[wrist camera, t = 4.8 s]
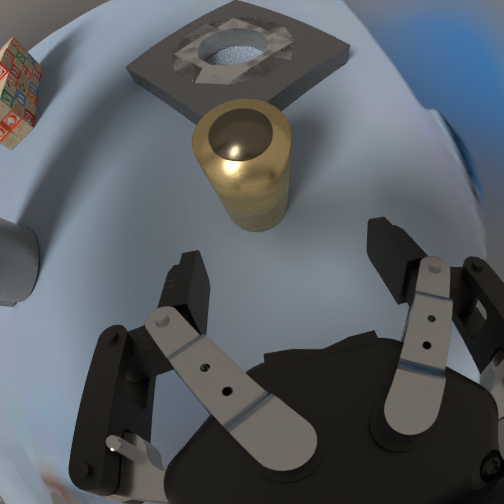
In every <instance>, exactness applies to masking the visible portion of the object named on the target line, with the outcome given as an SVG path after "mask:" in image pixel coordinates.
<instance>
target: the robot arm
mask: <svg viewBox="0 0 504 504" xmlns="http://www.w3.org/2000/svg"><path fill="white" fill-rule="evenodd" d="M367 254H368V257H369V259H370V261H371V262H372V264H373V265H374V267H375V268H376V270H377V272H378V273H379V275H380V276H381V278H382V279H383V281H384V283H385V284H386V286H387V287H388V289H389V291H390V292H391V294H392V296H393V297H394V299H395V301H396V302H397V304H398V305H399V304H402V303H406V302H407V303H408V305H409V310H408V314H407V318H406V322H405V326H404V330H403V333H402V337H401V340H400V341H397V340H394V339H388V338H378V337H377V335H376V333H375V331H374V330H373V331H370V332H366V333H362V334H358V335H354V336H350V337H348V338H346V339H344V340H342V341H339V342H337V343H335V344H333V345H331V346H329V347H327V348H324V349H290V350H284V351H278V352H272V353H266V354H264V361H265V362H264V363H261V364H259V365H257V366H255V367H253V368H251V369H250V370H248V371H247V372H246V373H245V372H244V371H243V370H241V369H240V368H239V367H238V366H237V365H236V364H235V363H234V362H233V361H232V360H231V359H230V358H229V357H227V356H226V355H225V354H224V353H223V352H222V351H221V350H220V349H219V348H218V347H217V346H216V345H215V344H214V343H213V342H212V341H211V340H210V339H209V338H208V337H207V336H206V331H207V318H208V307H209V296H210V282H209V278H208V274H207V272H206V269H205V266H204V263H203V260H202V257H201V254H200V252H199V250H196V251H191V252H186V253H183V254H182V256H181V260H180V264H179V265H174V266H173V267H172V268H171V270H170V271H169V272H168V274H167V277H166V280H165V281H166V282H165V284H164V289H163V291H162V294H161V298H160V301H159V305H158V308H157V309H156V310H154V311H153V312H151V313H150V314H149V316H148V317H147V319H146V321H145V325H144V326H142V327H139V328H136V329H134V330H131V331H127V330H126V328H125V327H124V326H122V325H113V326H111V327H109V328H107V329H106V330H104V331H103V332H102V334H101V335H100V337H99V339H98V342H97V345H96V348H95V351H94V355H93V358H92V361H91V365H90V368H89V372H88V375H87V379H86V383H85V386H84V390H83V394H82V398H81V403H80V407H79V411H78V416H77V421H76V425H75V431H74V436H73V442H72V448H71V454H70V461H69V476H70V479H71V481H72V482H73V484H74V485H75V486H76V487H78V488H79V489H81V490H84V491H87V492H90V493H93V494H96V495H99V496H102V497H105V498H108V499H112V500H115V501H119V502H123V503H127V504H142V503H144V502H153V503H163V504H504V460H503V458H502V456H501V454H500V451H499V444H498V422H499V421H501V420H502V419H504V283H503V282H502V280H501V279H500V278H499V277H498V276H497V274H496V273H495V272H494V271H493V270H492V268H491V267H490V266H489V265H488V264H487V263H486V262H485V261H484V260H482V259H480V258H478V257H468V258H466V259H465V261H464V264H463V267H450V266H449V265H448V263H447V262H446V261H444V260H443V259H441V258H439V257H434V256H427V254H426V253H425V252H424V251H423V250H422V249H421V248H420V247H419V246H418V245H417V243H416V242H414V240H413V239H412V238H411V237H409V235H408V234H407V233H406V232H405V231H404V230H403V229H401V228H400V227H398V226H396V225H392V224H391V223H390V222H389V221H388V220H387V219H386V218H385V217H378V218H372V219H369V221H368V231H367ZM38 267H39V250H38V244H37V240H36V237H35V235H34V233H33V232H32V231H31V230H30V229H29V228H26V227H23V226H21V225H19V224H15V223H12V222H10V221H7V220H5V219H2V218H0V306H9V307H14V305H15V303H16V302H21V301H23V300H25V299H26V298H27V297H28V296H29V295H30V293H31V291H32V289H33V287H34V284H35V281H36V278H37V273H38ZM478 300H479V301H480V302H481V304H482V305H483V307H484V308H485V309H486V313H487V319H486V320H485V319H484V317H483V316H482V314H481V313H480V311H479V310H478V308H477V307H476V304H477V302H478ZM451 321H453V322H454V324H455V326H456V328H457V329H458V331H459V333H460V335H461V337H462V338H463V340H464V342H465V344H466V346H467V348H468V350H469V352H470V354H471V356H472V358H473V360H474V362H475V364H476V366H477V368H478V370H479V372H480V374H481V376H480V384H478V383H476V382H474V381H472V380H471V379H469V378H467V377H465V376H463V375H461V374H460V373H458V372H456V371H454V370H452V369H450V368H449V367H447V366H446V361H447V355H448V348H449V340H450V331H451ZM173 369H174V370H175V372H176V373H177V374H178V376H179V377H180V378H181V379H182V381H183V382H184V383H185V385H186V386H187V387H188V388H189V390H190V391H191V392H192V393H193V395H194V396H195V397H196V398H197V399H198V401H199V402H200V403H201V404H202V406H203V407H204V408H205V409H206V410H207V412H208V413H209V414H210V416H209V417H208V418H207V420H206V421H205V422H204V423H203V424H202V426H201V427H200V428H199V429H198V430H197V432H196V433H195V434H194V435H193V436H192V438H191V439H190V440H189V441H188V442H187V443H186V445H185V446H184V447H183V448H182V449H181V450H180V451H179V453H178V454H177V455H176V456H175V457H174V458H173V459H172V461H171V462H170V463H169V465H168V467H167V469H166V470H165V468H164V467H163V465H162V461H161V455H160V453H159V451H158V449H157V448H156V447H155V446H153V445H152V444H150V440H151V425H152V412H153V401H154V390H155V381H156V375H159V374H162V373H165V372H168V371H170V370H173Z"/></svg>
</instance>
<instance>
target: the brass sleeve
mask: <svg viewBox="0 0 504 504" xmlns="http://www.w3.org/2000/svg"><path fill="white" fill-rule="evenodd" d="M192 149H193V153H194V155H195V157H196V159H197V161H198V163H199V164H200V166H201V168H202V170H203V171H204V173H205V175H206V176H207V178H208V180H209V182H210V183H211V185H212V187H213V188H214V190H215V192H216V194H217V195H218V197H219V199H220V200H221V202H222V204H223V206H224V207H225V209H226V211H227V212H228V214H229V216H230V217H231V219H232V220H233V222H234V223H235V224H236V225H237V226H239V227H240V228H242V229H244V230H247V231H251V232H262V231H266V230H269V229H271V228H273V227H274V226H276V225H277V224H278V223H279V222H280V221H281V220H282V219H283V217H284V215H285V213H286V210H287V204H288V189H289V172H290V154H291V128H290V125H289V122H288V120H287V118H286V117H285V116H284V114H283V113H282V112H281V111H280V110H279V109H277V108H276V107H275V106H273V105H271V104H269V103H267V102H264V101H261V100H256V99H236V100H231V101H228V102H225V103H222V104H220V105H218V106H216V107H214V108H213V109H211V110H210V111H209V112H207V113H206V114H205V115H204V116H203V117H202V119H201V120H200V121H199V123H198V124H197V126H196V128H195V130H194V133H193V137H192Z"/></svg>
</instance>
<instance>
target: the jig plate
mask: <svg viewBox="0 0 504 504" xmlns="http://www.w3.org/2000/svg"><path fill="white" fill-rule="evenodd" d="M232 46H253V47H255V48H257V49H259V50H261V51H264V53H262V54H261V55H259V56H257V57H256V58H254V59H253V60H251V61H248V62H244V63H240V64H236V65H232V66H225V65H210V64H208V63H206V61H207V59H208V57H210V56H211V55H213V54H214V53H216V52H218V51H219V50H221V49H224V48H228V47H232ZM349 48H350V45H349V44H347V43H345V42H343V41H341V40H339V39H337V38H335V37H333V36H331V35H329V34H327V33H325V32H323V31H321V30H319V29H316V28H314V27H312V26H310V25H307V24H305V23H303V22H300V21H298V20H295V19H293V18H290V17H288V16H285V15H282V14H280V13H277V12H274V11H271V10H268V9H265V8H262V7H259V6H256V5H252V4H249V3H246V2H242V1H238V0H234V1H232V2H230V3H228V4H226V5H223V6H221V7H219V8H217V9H215V10H213V11H211V12H209V13H207V14H206V15H204V16H202V17H200V18H198V19H196V20H195V21H193V22H191V23H189V24H188V25H186V26H184V27H182V28H181V29H179V30H178V31H176V32H174V33H173V34H171V35H170V36H168V37H166V38H165V39H163V40H162V41H160V42H159V43H157V44H156V45H155V46H153V47H152V48H150V49H149V50H147V51H146V52H145V53H143V54H142V55H141V56H139V57H138V58H137V59H135V60H134V61H133V62H131V63H130V64H129V65H128V66H126V69H127V70H128V72H129V73H130V75H131V76H132V78H133V79H134V81H135V82H136V83H137V84H139V85H140V86H142V87H143V88H145V89H146V90H148V91H149V92H151V93H152V94H154V95H155V96H157V97H158V98H160V99H161V100H162V101H164V102H165V103H167V104H168V105H170V106H171V107H172V108H174V109H175V110H177V111H178V112H179V113H181V114H182V115H184V116H185V117H186V118H188V119H189V120H190V121H192V122H193V123H194V124H196V125H197V124H198V123H199V121H200V120H201V119H202V117H203V116H204V115H205V114H206V113H207V112H209V111H210V110H211V109H213V108H214V107H216V106H218V105H220V104H222V103H225V102H228V101H231V100H236V99H256V100H261V101H264V102H267V103H269V104H271V105H273V106H275V107H276V108H277V109H279V110H280V111H282V110H283V109H285V108H286V107H287V106H289V105H290V104H291V103H292V102H294V101H295V100H296V99H298V98H299V97H300V96H301V95H303V94H304V93H305V92H307V91H308V90H309V89H311V88H312V87H313V86H315V85H316V84H317V83H319V82H320V81H322V80H323V79H324V78H326V77H327V76H329V75H330V74H331V73H333V72H334V71H336V70H337V69H338V68H340V67H341V66H343V65H344V64H346V61H347V57H348V52H349Z"/></svg>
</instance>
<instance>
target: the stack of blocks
mask: <svg viewBox="0 0 504 504" xmlns="http://www.w3.org/2000/svg"><path fill="white" fill-rule="evenodd" d="M41 73H42V67H41V66H40V65H39V64H38V62H37V61H36V60H34V58H33V57H32V56H31V55H30V54H29V53H28V52H27V51H26V49H25V48H24V47H23V46H22V45H20V43H19V42H18V41H17V40H16V39H15V38H14V37H13V38H12V39H11V40H9V42H8V43H6V44H5V45H4V46H3V48H1V50H0V143H1V144H2V145H4V146H5V147H7V148H8V149H10V150H12V149H13V148H14V147H15V146H16V145H17V144H18V143H19V142H20V141H21V140H22V139H23V138H24V137H25V136H26V135H27V134H28V133H29V132H30V131H31V130H32V129H33V128H34V117H35V112H36V103H37V95H38V88H39V82H40V78H41Z"/></svg>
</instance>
